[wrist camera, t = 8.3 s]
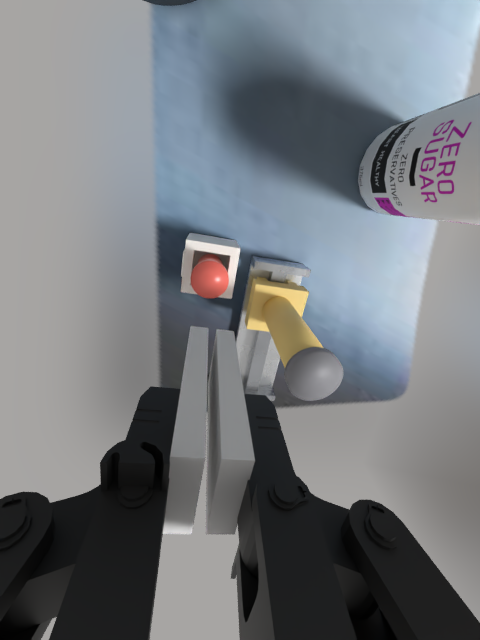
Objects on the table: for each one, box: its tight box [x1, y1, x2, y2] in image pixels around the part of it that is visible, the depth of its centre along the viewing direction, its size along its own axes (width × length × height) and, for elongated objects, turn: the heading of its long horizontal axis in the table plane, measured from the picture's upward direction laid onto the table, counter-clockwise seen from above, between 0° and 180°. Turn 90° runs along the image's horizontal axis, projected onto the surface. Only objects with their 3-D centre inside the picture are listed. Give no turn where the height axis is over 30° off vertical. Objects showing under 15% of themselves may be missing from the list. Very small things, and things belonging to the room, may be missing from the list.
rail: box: [235, 255, 311, 401], centre depth 34 cm, size 17×6×3 cm, turn 170°
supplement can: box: [358, 93, 480, 225], centre depth 22 cm, size 8×8×15 cm
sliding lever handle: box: [245, 277, 343, 401], centre depth 25 cm, size 5×6×15 cm
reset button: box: [191, 254, 229, 298], centre depth 26 cm, size 3×3×5 cm
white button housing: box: [181, 233, 241, 299], centre depth 29 cm, size 5×5×5 cm
